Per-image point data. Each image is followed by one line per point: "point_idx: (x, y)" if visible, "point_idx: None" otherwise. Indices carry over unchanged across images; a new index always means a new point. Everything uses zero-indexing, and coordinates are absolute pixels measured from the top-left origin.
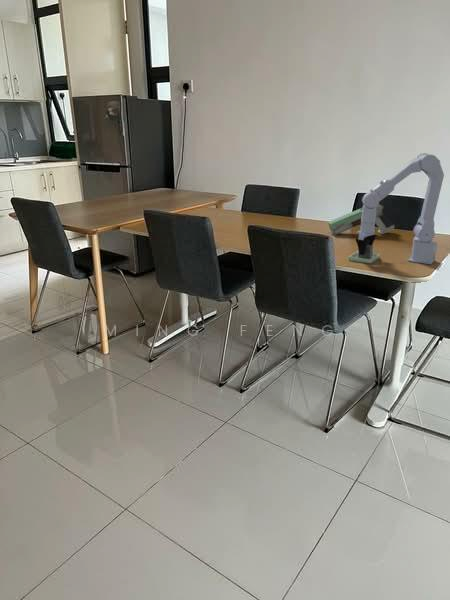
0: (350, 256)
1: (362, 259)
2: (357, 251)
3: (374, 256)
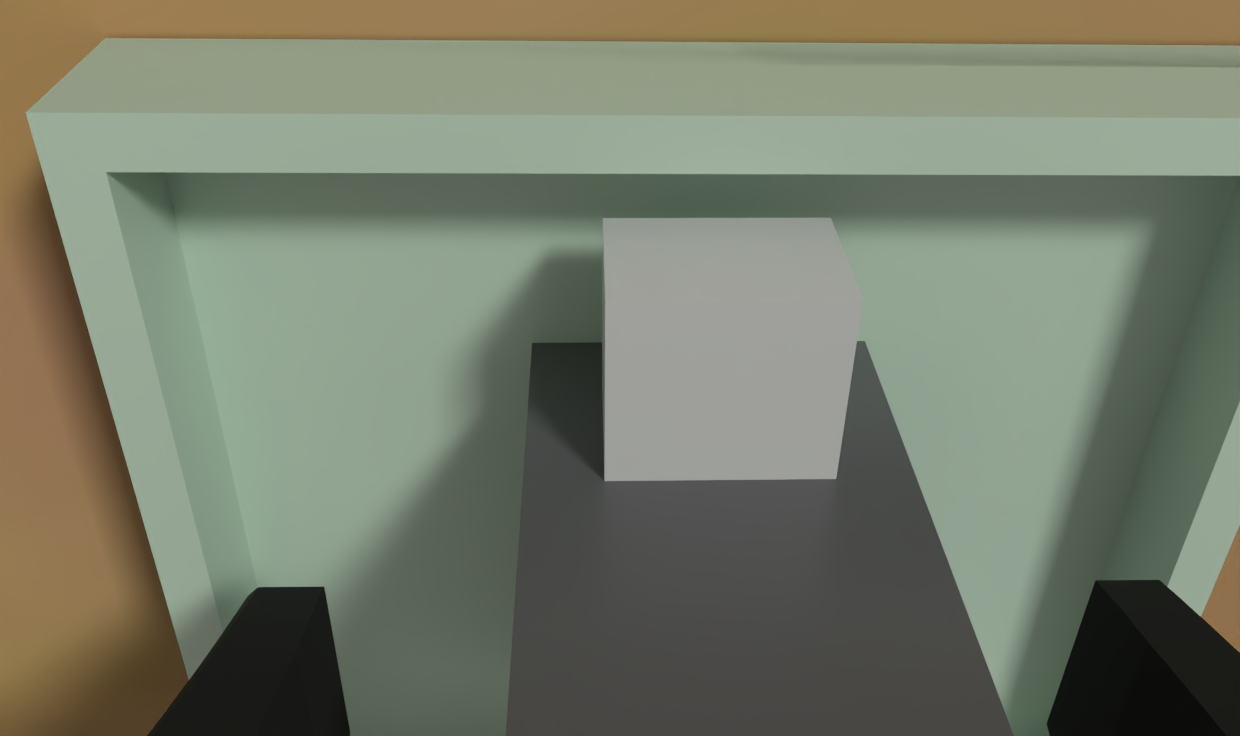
0: (81, 190)
1: (193, 626)
2: (811, 345)
3: (1029, 678)
